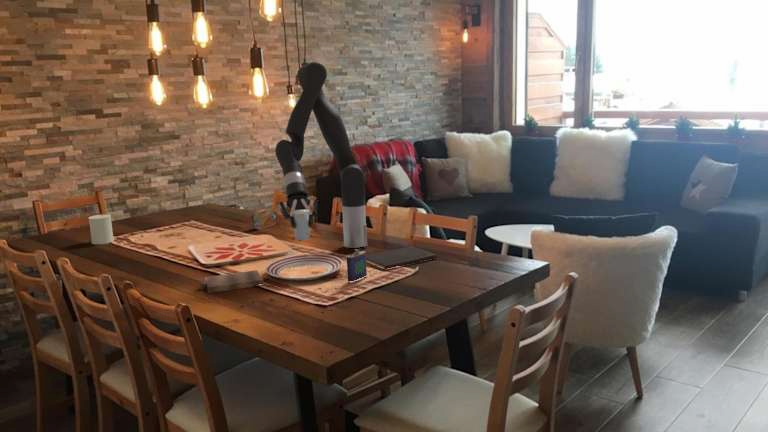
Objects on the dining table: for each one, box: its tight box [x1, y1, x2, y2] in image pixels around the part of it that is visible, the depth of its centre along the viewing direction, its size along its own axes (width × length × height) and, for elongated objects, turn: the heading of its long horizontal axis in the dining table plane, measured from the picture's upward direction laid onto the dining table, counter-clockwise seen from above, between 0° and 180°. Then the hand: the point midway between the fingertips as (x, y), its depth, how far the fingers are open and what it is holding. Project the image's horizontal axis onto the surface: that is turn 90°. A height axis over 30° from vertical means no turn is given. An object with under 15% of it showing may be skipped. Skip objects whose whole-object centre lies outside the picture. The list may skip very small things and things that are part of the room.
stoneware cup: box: [293, 209, 311, 241], centre depth 227 cm, size 6×6×10 cm
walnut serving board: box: [199, 270, 264, 294], centre depth 220 cm, size 20×12×2 cm, turn 111°
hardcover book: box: [366, 245, 438, 269], centre depth 242 cm, size 16×23×2 cm
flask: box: [346, 249, 368, 282], centre depth 220 cm, size 9×3×11 cm, turn 144°
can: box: [87, 213, 115, 245], centre depth 286 cm, size 9×9×12 cm
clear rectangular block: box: [249, 208, 278, 230], centre depth 303 cm, size 15×3×8 cm, turn 143°
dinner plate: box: [265, 253, 344, 281], centre depth 231 cm, size 27×27×3 cm
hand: (302, 226), depth 226 cm, fingers closed on stoneware cup, 5 cm apart
